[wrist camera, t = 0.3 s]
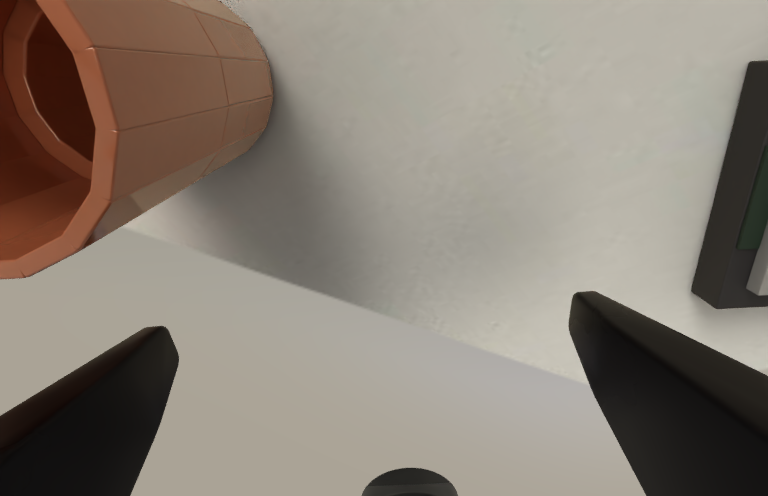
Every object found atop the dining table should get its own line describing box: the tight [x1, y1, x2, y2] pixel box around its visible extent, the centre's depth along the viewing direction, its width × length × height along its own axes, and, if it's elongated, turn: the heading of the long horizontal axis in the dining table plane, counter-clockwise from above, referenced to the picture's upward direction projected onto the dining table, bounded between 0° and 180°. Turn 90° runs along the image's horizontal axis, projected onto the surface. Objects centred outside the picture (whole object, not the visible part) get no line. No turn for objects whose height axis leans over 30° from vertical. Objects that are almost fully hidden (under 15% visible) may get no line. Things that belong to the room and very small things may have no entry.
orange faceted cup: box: [0, 0, 273, 279], centre depth 14 cm, size 7×7×13 cm
